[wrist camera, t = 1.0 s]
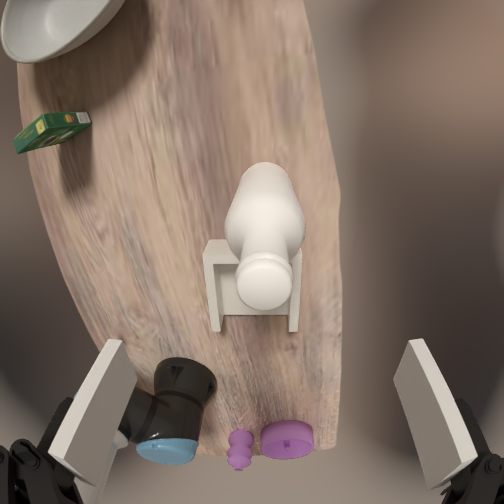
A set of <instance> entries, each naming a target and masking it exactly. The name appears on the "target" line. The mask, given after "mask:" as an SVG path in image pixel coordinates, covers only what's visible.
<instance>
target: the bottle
mask: <svg viewBox="0 0 504 504" xmlns="http://www.w3.org/2000/svg"><path fill="white" fill-rule="evenodd" d="M305 229H306V224H305V221H304V217H303V214H302V211H301V208H300V205H299V203H298V200H297V198H296V195H295V193H294V190H293V187H292V185H291V181H290V178H289V176H288V175H287V174H286V172H285V171H284V170H283V169H282V168H281V167H279V166H278V165H276V164H274V163H269V162H262V163H257V164H255V165H253V166H251V167H249V169H248V170H247V171H246V172H245V173H244V174H243V175H242V178H241V180H240V183H239V187H238V189H237V192H236V194H235V197H234V199H233V202H232V204H231V207H230V209H229V212H228V214H227V217H226V220H225V237H226V240H227V242H228V245H229V248H230V250H231V251H232V253H233V254H234V255H235V256H236V257H237V258H238V260H239V261H240V263H239V265H238V267H237V270H236V273H235V283H236V292H237V294H238V296H239V299H240V300H241V301H242V302H243V303H244V304H245V305H247V306H248V307H250V308H252V309H255V310H261V311H267V310H273V309H276V308H278V307H281V306H282V305H283V304H284V303H285V302H287V301H288V299H289V297H290V295H291V293H292V285H293V278H294V276H293V271H292V268H291V265H290V264H289V261H290V260H291V259H293V258H294V257H295V255H296V254H297V253H298V251H299V249H300V247H301V245H302V243H303V241H304V238H305Z"/></svg>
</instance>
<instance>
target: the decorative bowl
mask: <svg viewBox="0 0 504 504" xmlns="http://www.w3.org/2000/svg"><path fill="white" fill-rule="evenodd" d="M124 2H125V0H8V1H7V3H6V6H5V9H4V12H3V16H2V21H1V42H2V46H3V48H4V51H5V52H6V54H7V55H8V56H9V57H10V58H11V59H12V60H14V61H16V62H18V63H24V64H31V63H38V62H42V61H46V60H49V59H52V58H55V57H57V56H60V55H62V54H65V53H67V52H69V51H71V50H73V49H75V48H76V47H78V46H80V45H82V44H83V43H85V42H86V41H88V40H89V39H90V38H92V37H93V36H94V35H96V34H97V33H98V32H99V31H100V30H101V29H103V28H104V27H105V26H106V25H107V24H108V23H109V22H110V21H111V19H112V18H113V17H114V16H115V15H116V13H117V12H118V11H119V9H120V8H121V6H122V5H123V3H124Z"/></svg>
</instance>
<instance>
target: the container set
mask: <svg viewBox="0 0 504 504" xmlns="http://www.w3.org/2000/svg"><path fill="white" fill-rule="evenodd" d="M228 441H229V444H230V446H231V447H230V448H229V449H228V452H227V455H228V457H229V458H228V460H227V461H228V463H229V464H230V465H231V466H233V467H235V470H236V471H242V470H243V469H242V468H244V467H247V466H249V465H250V464H251V460H250V459H251V457H252V451H251V449H250V447H251V446H252V445H253V442H254V439H253V437H252V435H251V434H250V433H249V432H248V431H245V430H236V431H234V432H233V433H232V434H230V436H229V439H228ZM313 449H314V441H313V430H312V427H311V426H310V425H309V424H307V423H305V422H302V421H296V420H284V421H278V422H274V423H271V424H269V425H267V426H266V427H264V428H263V430H262V432H261V452H262V454H264V455H266V456H267V457H270V458H274V459H294V458H299V457H302V456H305V455H307V454H309V453H310V452H312V451H313Z"/></svg>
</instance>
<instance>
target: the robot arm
mask: <svg viewBox="0 0 504 504" xmlns="http://www.w3.org/2000/svg"><path fill="white" fill-rule="evenodd" d="M137 380H138V378H137V376H136V374H135V371H134V369H133V366H132V364H131V362H130V359H129V357H128V354H127V352H126V349H125V347H124V344H123V341H122V340H114V339H108V341H107V342H106V344H105V346H104V347H103V349H102V351H101V352H100V354H99V356H98V358H97V359H96V361H95V363H94V365H93V366H92V368H91V370H90V372H89V373H88V375H87V377H86V379H85V380H84V382H83V384H82V386H81V388H80V389H79V391H78V392H77V393H76V395H75V396H74V398H70V397H67V398H66V399H65V400H64V401H63V402H62V403H60V405H59V406H58V409H57V410H56V412H55V415H54V416H53V418H52V420H51V422H50V423H49V425H48V427H47V429H46V431H45V433H44V435H43V437H42V439H41V441H40V443H39V445H38V446H37V448H35V446H33V444H32V443H31V442H30V441H29V440H26V439H19V440H17V441H15V442H14V443H13V444H12V445H11V448H10V452H9V451H8V450H7V449H6V448H4V447H3V446H1V445H0V504H99V501H100V498H101V495H102V492H103V489H104V486H105V483H106V480H107V477H108V474H109V471H110V468H111V466H112V463H113V460H114V457H115V454H116V451H117V449H119V448H122V447H126V446H127V445H128V442H129V441H131V442H133V443H135V444H137V446H136V448H137V452H138V454H139V455H141V456H142V457H143V458H145V459H148V460H150V461H153V462H157V463H161V464H169V465H180V464H185V463H188V462H190V461H192V460H193V458H194V456H195V453H196V449H197V447H198V444H199V443H198V440H199V435H200V429H201V423H202V418H203V412H204V409H205V407H206V406H207V404H208V403H209V401H210V400H211V398H212V397H213V395H214V393H215V389H216V378H215V376H214V375H213V373H212V372H211V371H210V370H209V369H208V368H207V367H205V366H204V365H202V364H200V363H198V362H196V361H193V360H190V359H186V358H177V357H176V358H168V359H165V360H163V361H161V362H160V363H159V364H158V366H157V368H156V370H155V373H154V390H155V395H154V396H153V395H151V394H149V393H148V392H146V391H144V390H142V389H140V388H139V387H137V386H135V385H136V382H137ZM393 381H394V383H395V386H396V389H397V392H398V394H399V397H400V400H401V403H402V406H403V408H404V411H405V414H406V417H407V420H408V423H409V426H410V430H411V433H412V436H413V439H414V442H415V446H416V449H417V452H418V456H419V459H420V463H421V466H422V470H423V473H424V477H425V481H426V484H427V489H428V491H429V490H432V489H435V488H438V487H440V486H443V485H444V484H446V483H447V482H448V481H451V485H450V486H449V487H447V488H446V489H445V490H443V492H442V493H441V495H443V494H445V493H446V492H447V493H446V495H445V498H444V500H443V502H442V504H504V458H501V457H500V456H498V455H497V454H492V453H491V452H490V450H489V448H488V446H487V443H486V441H485V438H484V436H483V434H482V431H481V429H480V427H479V425H478V424H477V420H476V418H475V417H474V414H473V412H472V409H471V407H470V406H469V404H468V403H467V402H466V401H465V400H464V399H463V398H459V399H456V400H454V399H453V397H452V394H451V392H450V390H449V388H448V386H447V384H446V382H445V380H444V378H443V376H442V374H441V372H440V370H439V368H438V366H437V365H436V363H435V361H434V359H433V357H432V355H431V353H430V351H429V349H428V348H427V346H426V344H425V342H424V340H423V339H415V340H409V341H408V344H407V347H406V349H405V352H404V354H403V357H402V359H401V362H400V364H399V367H398V370H397V372H396V374H395V376H394V379H393ZM15 486H16V487H15Z"/></svg>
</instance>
